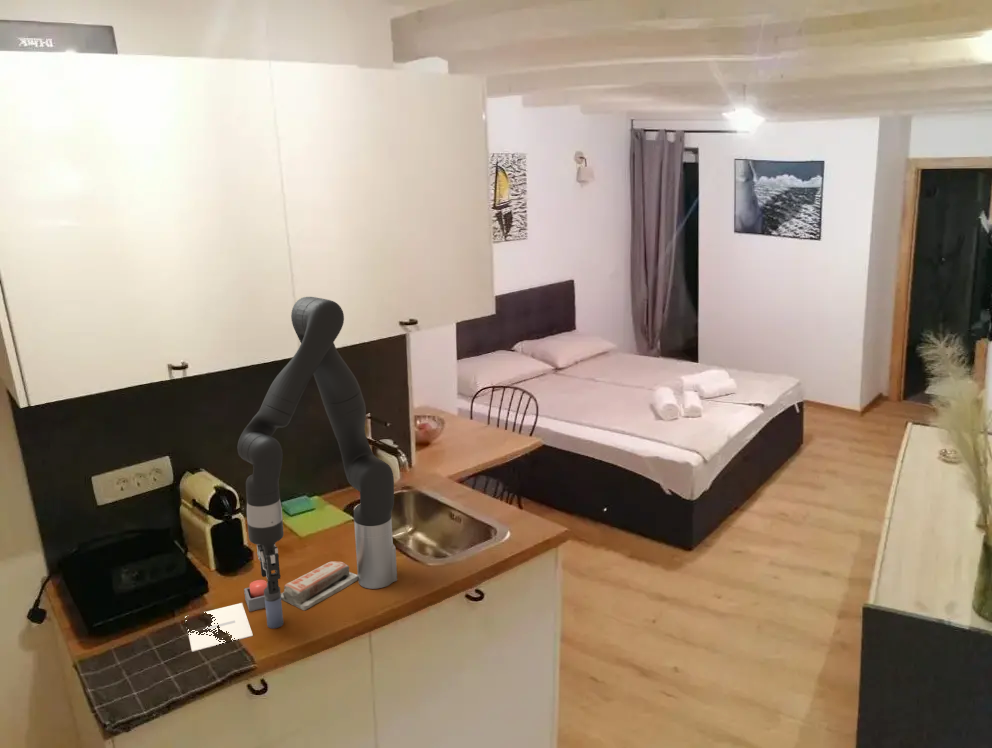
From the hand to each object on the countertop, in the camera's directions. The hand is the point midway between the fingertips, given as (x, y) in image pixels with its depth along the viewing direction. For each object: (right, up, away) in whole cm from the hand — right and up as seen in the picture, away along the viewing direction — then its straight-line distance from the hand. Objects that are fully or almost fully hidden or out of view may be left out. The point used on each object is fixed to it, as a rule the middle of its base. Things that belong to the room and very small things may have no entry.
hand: (270, 584), depth 179 cm
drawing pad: (-13, -10, +2) cm, 16 cm away
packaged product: (+7, -7, +18) cm, 20 cm away
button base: (-6, -8, +12) cm, 15 cm away
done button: (-6, -6, +11) cm, 14 cm away
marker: (0, -10, +3) cm, 11 cm away
